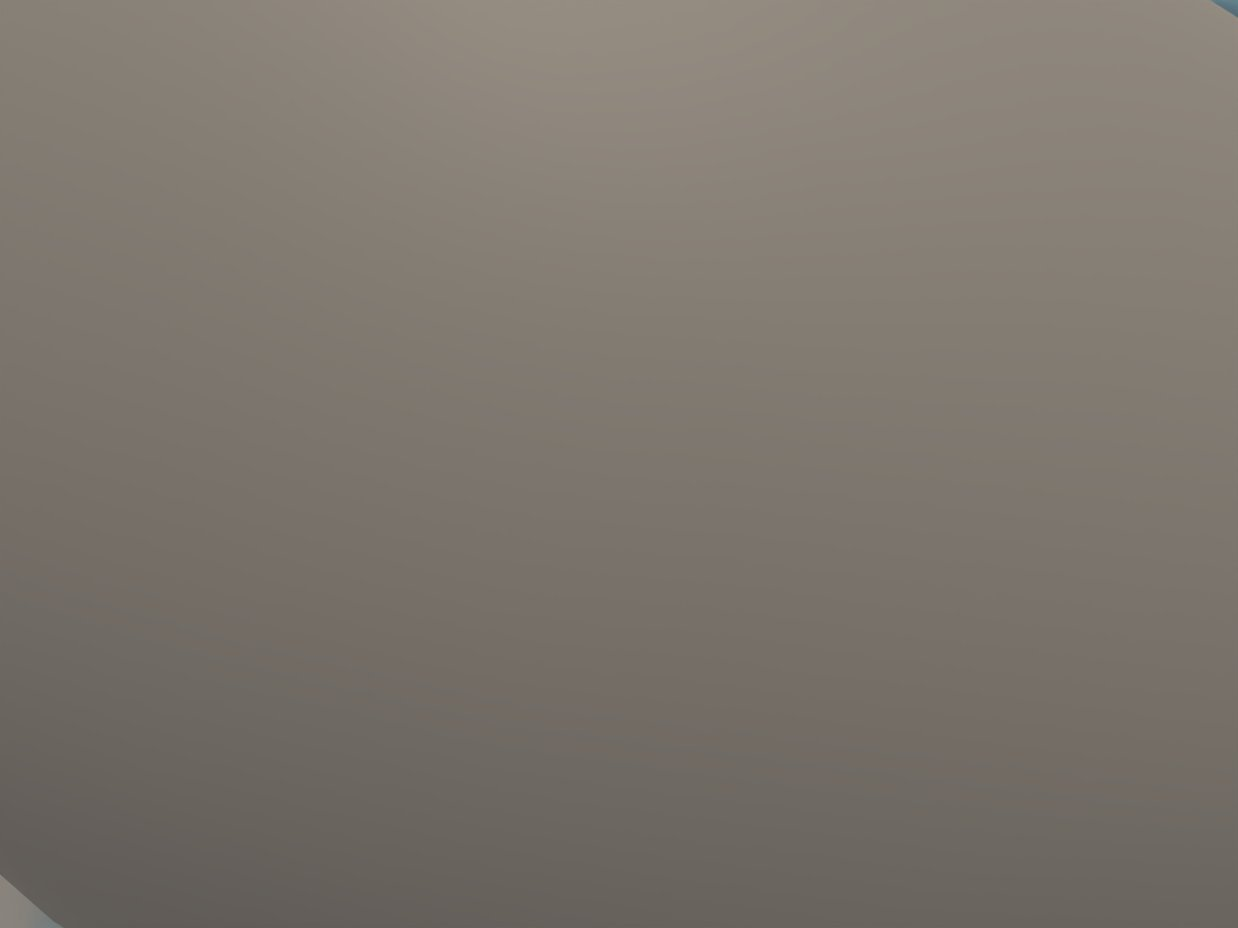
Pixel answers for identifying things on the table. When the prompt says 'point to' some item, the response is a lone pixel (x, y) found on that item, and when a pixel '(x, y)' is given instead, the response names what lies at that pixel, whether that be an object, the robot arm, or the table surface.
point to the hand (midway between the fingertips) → (486, 256)
